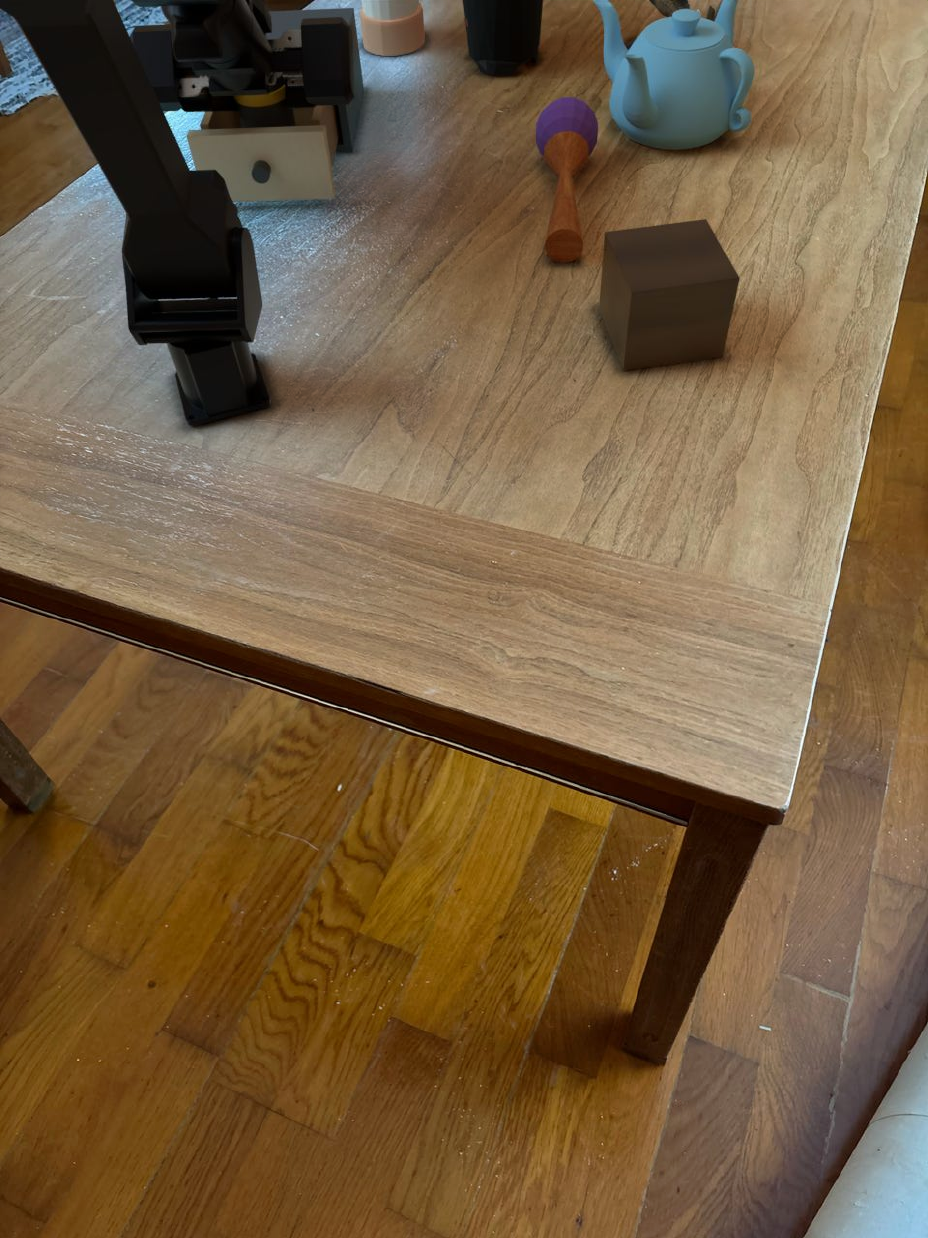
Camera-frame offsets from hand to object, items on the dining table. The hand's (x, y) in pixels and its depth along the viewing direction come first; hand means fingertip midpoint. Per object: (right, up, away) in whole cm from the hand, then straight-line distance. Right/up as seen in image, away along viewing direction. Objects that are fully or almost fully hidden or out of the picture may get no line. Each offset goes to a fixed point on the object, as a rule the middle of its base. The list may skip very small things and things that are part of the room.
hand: (267, 103), depth 88 cm
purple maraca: (+28, -10, 0) cm, 30 cm away
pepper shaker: (+10, +19, +22) cm, 31 cm away
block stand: (+34, -25, -13) cm, 44 cm away
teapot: (+39, +2, +8) cm, 40 cm away
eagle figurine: (+42, +16, +18) cm, 48 cm away
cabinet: (+1, +4, +11) cm, 12 cm away
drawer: (0, -4, +4) cm, 6 cm away
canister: (0, -2, 0) cm, 2 cm away
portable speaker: (+23, +14, +18) cm, 32 cm away
